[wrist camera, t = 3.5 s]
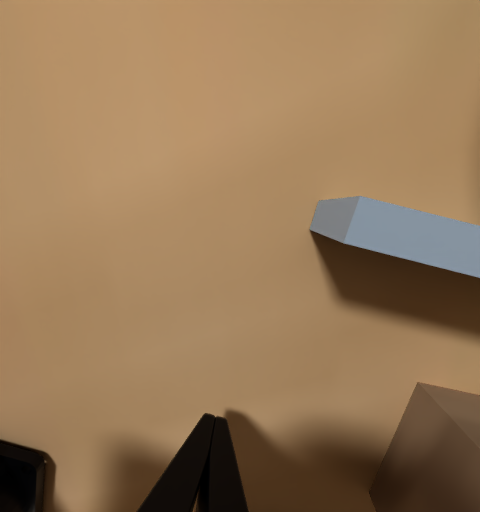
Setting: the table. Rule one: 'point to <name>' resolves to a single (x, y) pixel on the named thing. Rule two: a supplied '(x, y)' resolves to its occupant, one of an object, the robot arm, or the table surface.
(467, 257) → the grey zigzag track
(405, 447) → the block
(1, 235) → the table surface
